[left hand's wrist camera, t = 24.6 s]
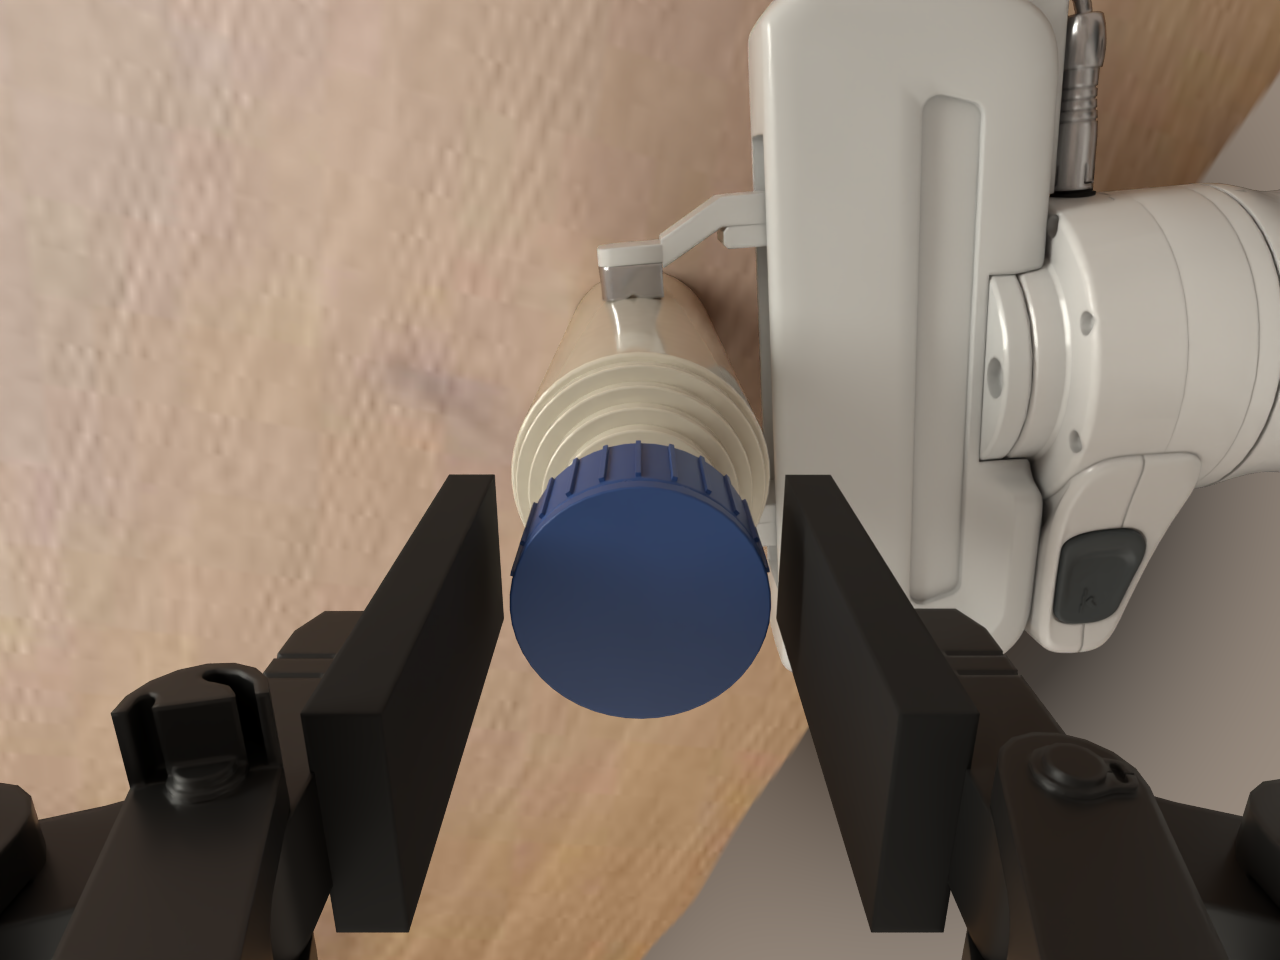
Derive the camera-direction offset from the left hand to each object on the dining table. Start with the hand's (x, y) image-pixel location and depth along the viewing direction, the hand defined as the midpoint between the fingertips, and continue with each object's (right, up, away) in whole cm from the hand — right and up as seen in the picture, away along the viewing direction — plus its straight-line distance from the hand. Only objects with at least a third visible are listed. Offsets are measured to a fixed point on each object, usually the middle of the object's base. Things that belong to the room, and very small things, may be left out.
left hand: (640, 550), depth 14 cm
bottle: (0, +6, +17) cm, 18 cm away
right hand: (-1, +4, +11) cm, 12 cm away
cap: (0, -1, -2) cm, 2 cm away
